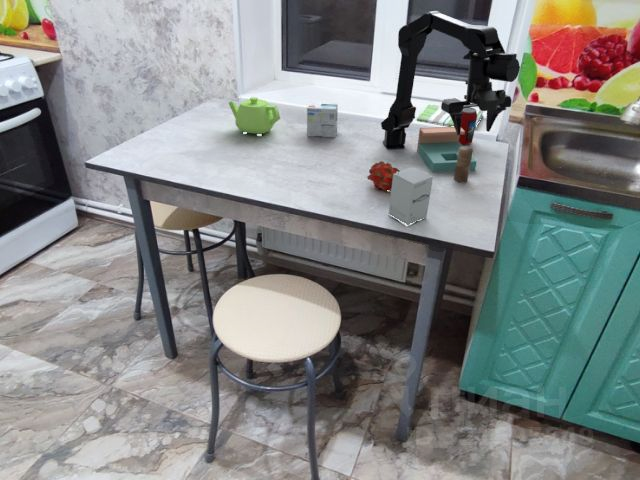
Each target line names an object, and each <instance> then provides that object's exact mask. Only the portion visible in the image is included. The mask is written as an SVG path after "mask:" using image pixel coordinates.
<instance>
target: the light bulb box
mask: <svg viewBox="0 0 640 480" xmlns="http://www.w3.org/2000/svg"><path fill="white" fill-rule="evenodd" d="M338 108H339V107H338V103H337V102H336V103H335V102H334V103H333V102H331V103H330V102H312V101H311V102H310V101H309V103H308V105H307V107H306V131H307V133H306V136H307V137H314V136H322V137H321V138H334V137H335V138H336V137H337V132H338V111H339V109H338Z"/></svg>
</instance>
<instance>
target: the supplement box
mask: <svg viewBox="0 0 640 480" xmlns="http://www.w3.org/2000/svg"><path fill="white" fill-rule="evenodd" d="M433 178H434V176H433V175H431V174H429V173H427V172H425V171H423V170H421V169H418V168H416V167H414V166H412V167H409V168H406V169H403V170H400V172H398V171H397V173H395V174H393V180H392V189H390V190H391V192H390V199H389V208H388V215H389V214H390V215H392V216H394V217H395V218H397V219H399V220H400V221H402V222H404V223H406V224H407V225H409V224H410V223H413V222H415V221H417V220H420V219H423V218H426V219H427V217H428V212H429V211H428V210H429V204H430V198H431V194H432V193H431V192H432V186H433Z"/></svg>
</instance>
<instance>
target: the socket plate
mask: <svg viewBox="0 0 640 480" xmlns="http://www.w3.org/2000/svg"><path fill="white" fill-rule="evenodd" d="M418 130H419V131H418V139H417V148H416V151H417V152H418V154H419V155H420V157H421V159H422V160H423V161H424V163H425V164H426V165H427V167H428V168H429V170H430V171H431V172H432V173H437V172H438V173H439V172H440V173H442V172H455V169H456V163H457V158H458V152H459V148H460V147H462V146H463V145H461V144H460V142H459V137H460V135H457V133H456V130H455V127H450V126H440V127H439V126H437V127H433V126H432V127H420V128H419V129H418ZM460 134H465V131H464V130H463V129H462V128H461V131H460ZM476 168H477V160H476V159H475V157H474V156H472V159H471V164H470V169H469V171H475V170H476Z"/></svg>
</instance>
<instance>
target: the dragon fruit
mask: <svg viewBox="0 0 640 480" xmlns="http://www.w3.org/2000/svg"><path fill="white" fill-rule="evenodd" d="M400 171H401V170H400V169H398V167H393V166H392V164H391V163H389V162H386V163H385V161H382V160H381V161H379V162H375V163H374V164H373V165H371V168H370V169H369V170H368V173H369V175H368V176H367V180H370V181H371V182H372V183H373V185H374V188H375V190H378V189H379V188H380V189H382V190H383V191H385V192H387V190H391V189H392V180H393V174H395V173H398V172H400Z"/></svg>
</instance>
